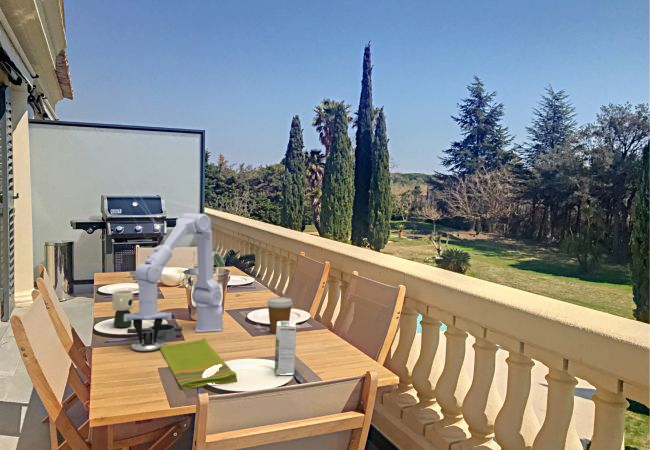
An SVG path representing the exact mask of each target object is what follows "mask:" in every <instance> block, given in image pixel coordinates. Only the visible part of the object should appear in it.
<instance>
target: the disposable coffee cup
mask: <svg viewBox="0 0 650 450" xmlns="http://www.w3.org/2000/svg"><path fill="white" fill-rule="evenodd" d="M266 305H267V307H268V319H269V327H270V328H269V329H270V333H271V334H275V335H276V329H277V321H290V318H291V310H292V306H293V301H292V298H290V297H284V296H275V297H274V296H273V297H270V298H268V300H267V302H266Z"/></svg>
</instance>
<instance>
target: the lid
mask: <svg viewBox="0 0 650 450" xmlns="http://www.w3.org/2000/svg"><path fill="white" fill-rule="evenodd" d="M163 346H165V341H162V340H159V339H156V342H154V339H152V332H150V331H148V332H144V333H143V338H142V343H140V342H139V339H138V340H135V341H134V342H132V343H131V349H133V350H134V351H138V352H140V351H141V352H150V351H155V350H158V349H159V350H160V348H161V347H163Z"/></svg>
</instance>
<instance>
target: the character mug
mask: <svg viewBox="0 0 650 450" xmlns="http://www.w3.org/2000/svg"><path fill="white" fill-rule="evenodd" d="M133 308H134V291H133V290H128V289H122V290H115V291H113V292H112V310H114V311H115V314H114V319H113V326H114V327H121V328H122V329H123V328H126V327H127V328H128V327H131V326H132V325H133V321H124V314H132V313H131V311H130V310H132V309H133Z"/></svg>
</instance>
